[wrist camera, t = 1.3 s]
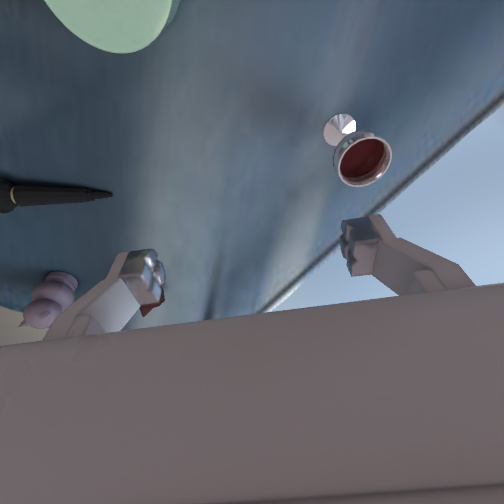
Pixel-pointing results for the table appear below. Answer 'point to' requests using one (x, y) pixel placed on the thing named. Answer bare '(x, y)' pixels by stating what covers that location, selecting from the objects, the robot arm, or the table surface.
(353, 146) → the wineglass
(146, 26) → the lid
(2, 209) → the microphone
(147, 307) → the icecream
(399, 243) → the robot arm
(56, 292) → the cat figurine
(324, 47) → the table surface
